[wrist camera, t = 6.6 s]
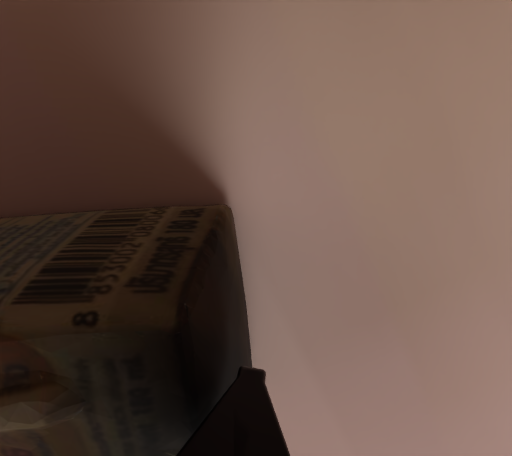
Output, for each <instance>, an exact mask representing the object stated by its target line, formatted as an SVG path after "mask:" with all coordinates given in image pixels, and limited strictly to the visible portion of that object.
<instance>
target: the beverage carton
mask: <svg viewBox="0 0 512 456" xmlns="http://www.w3.org/2000/svg"><path fill="white" fill-rule="evenodd" d="M241 366H246V367H251V368H252V361H251V349H250V339H249V329H248V319H247V309H246V301H245V294H244V287H243V279H242V272H241V265H240V259H239V252H238V245H237V238H236V231H235V224H234V218H233V214H232V210H231V208H230V207H228V206H226V205H222V204H221V205H211V206H176V207H156V208H137V209H119V210H103V211H89V212H75V213H61V214H47V215H34V216H22V217H11V218H0V456H176V455H177V454H178V452H179V451H180V450H181V448H182V447H183V446H184V445H185V443H186V442H187V441H188V439H189V438H190V437H191V436H192V434H193V433H194V432H195V431H196V429H197V428H198V427H199V425H200V424H201V423H202V422H203V420H204V419H205V418H206V416H207V415H208V414H209V413H210V411H211V410H212V409H213V407H214V406H215V405H216V404H217V402H218V401H219V400H220V399H221V397H222V396H223V395H224V393H225V392H226V391H227V390H228V388H229V387H230V386H231V384H232V383H233V382H234V381H235V379H236V378H237V374H238V370H239V368H240V367H241Z"/></svg>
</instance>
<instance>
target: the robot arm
mask: <svg viewBox="0 0 512 456" xmlns="http://www.w3.org/2000/svg"><path fill="white" fill-rule="evenodd" d="M265 377H266V372H265V371H264V370H263V369H257V368H251V367H246V366H241V367H240V368H239V370H238V374H237V378H236V379H235V381H234V382H233V383H232V384H231V386H230V387H229V388H228V390H227V391H226V392H225V393H224V395H223V396H222V397H221V399H220V400H219V401H218V402H217V404H216V405H215V406H214V407H213V409H212V410H211V411H210V413H209V414H208V415H207V416H206V418H205V419H204V420H203V422H202V423H201V424H200V425H199V427H198V428H197V429H196V431H195V432H194V433H193V434H192V436H191V437H190V438H189V439H188V441H187V442H186V443H185V445H184V446H183V447H182V448H181V450H180V451H179V452H178V454H177V455H176V456H290V454H289V451H288V448H287V445H286V442H285V439H284V436H283V433H282V431H281V428H280V425H279V422H278V419H277V416H276V413H275V411H274V408H273V405H272V402H271V399H270V396H269V393H268V391H267V388H266V385H265Z"/></svg>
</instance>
